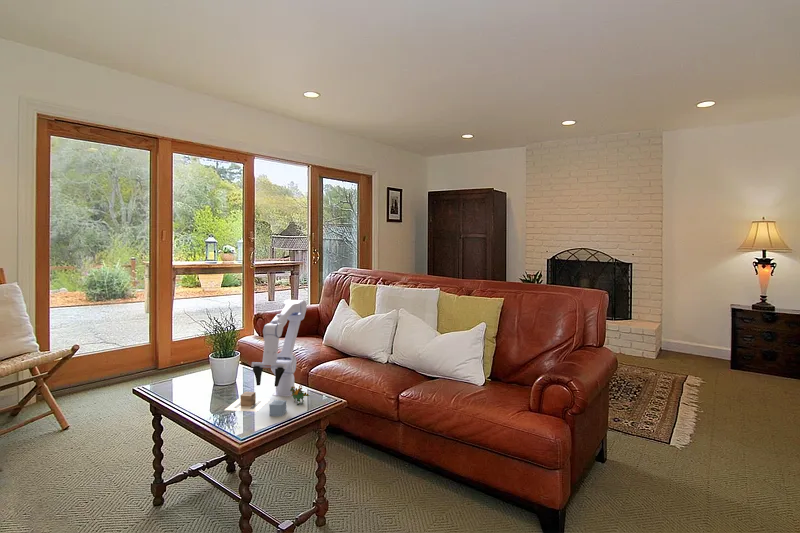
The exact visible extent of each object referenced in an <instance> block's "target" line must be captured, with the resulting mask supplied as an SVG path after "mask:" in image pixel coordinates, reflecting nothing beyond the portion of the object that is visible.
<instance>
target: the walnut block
mask: <svg viewBox="0 0 800 533" xmlns="http://www.w3.org/2000/svg"><path fill="white" fill-rule="evenodd" d="M239 396H240V397H239V398H241V406H250V407H251V406H252V405H253V404H255V403H256V398H257V397H256V392H255V391H244V392H243V393H242V394H240V395H239Z"/></svg>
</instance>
